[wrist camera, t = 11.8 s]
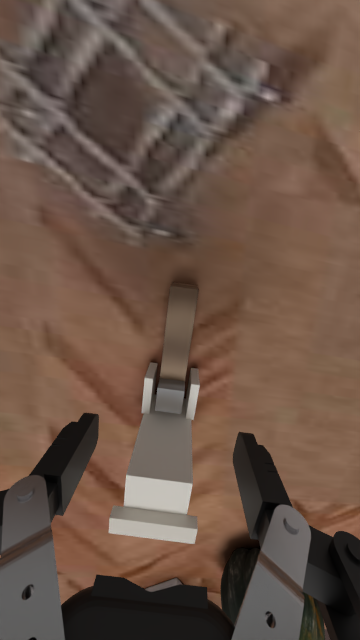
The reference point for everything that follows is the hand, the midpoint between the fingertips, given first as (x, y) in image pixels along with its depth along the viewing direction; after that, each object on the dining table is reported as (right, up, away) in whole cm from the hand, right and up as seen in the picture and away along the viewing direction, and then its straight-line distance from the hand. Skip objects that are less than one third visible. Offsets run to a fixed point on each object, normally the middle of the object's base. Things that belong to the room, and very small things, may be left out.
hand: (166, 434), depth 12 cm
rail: (0, +4, +16) cm, 17 cm away
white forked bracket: (-1, -5, +19) cm, 19 cm away
